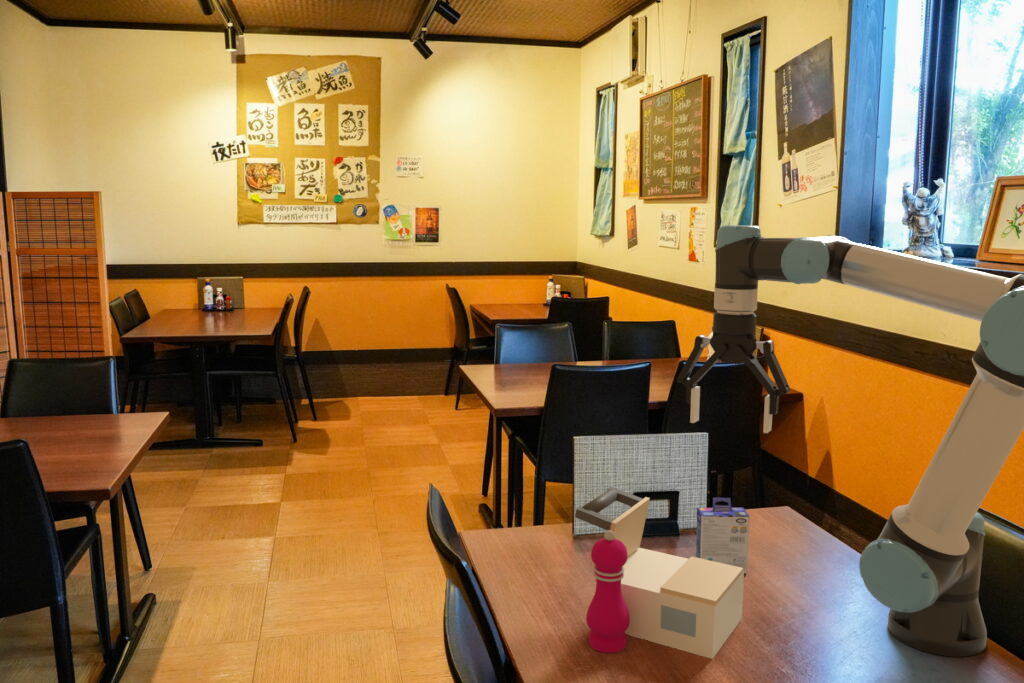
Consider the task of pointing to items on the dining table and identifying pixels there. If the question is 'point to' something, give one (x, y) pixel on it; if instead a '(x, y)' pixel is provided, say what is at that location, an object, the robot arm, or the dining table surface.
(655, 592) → the carton
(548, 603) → the dining table surface
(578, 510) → the flap
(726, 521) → the ink cartridge box
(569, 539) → the dining table surface
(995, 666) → the dining table surface
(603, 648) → the pepper mill
